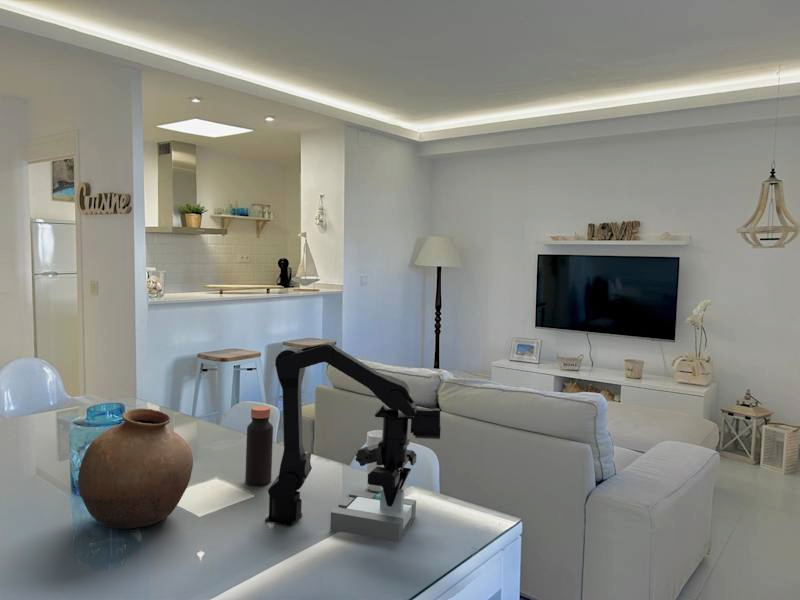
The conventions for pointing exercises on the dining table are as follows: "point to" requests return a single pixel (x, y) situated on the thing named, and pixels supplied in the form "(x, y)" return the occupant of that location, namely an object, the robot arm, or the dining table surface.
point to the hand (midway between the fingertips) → (391, 503)
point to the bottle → (259, 447)
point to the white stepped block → (384, 506)
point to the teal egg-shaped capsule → (378, 496)
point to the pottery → (135, 471)
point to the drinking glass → (374, 439)
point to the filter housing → (369, 519)
